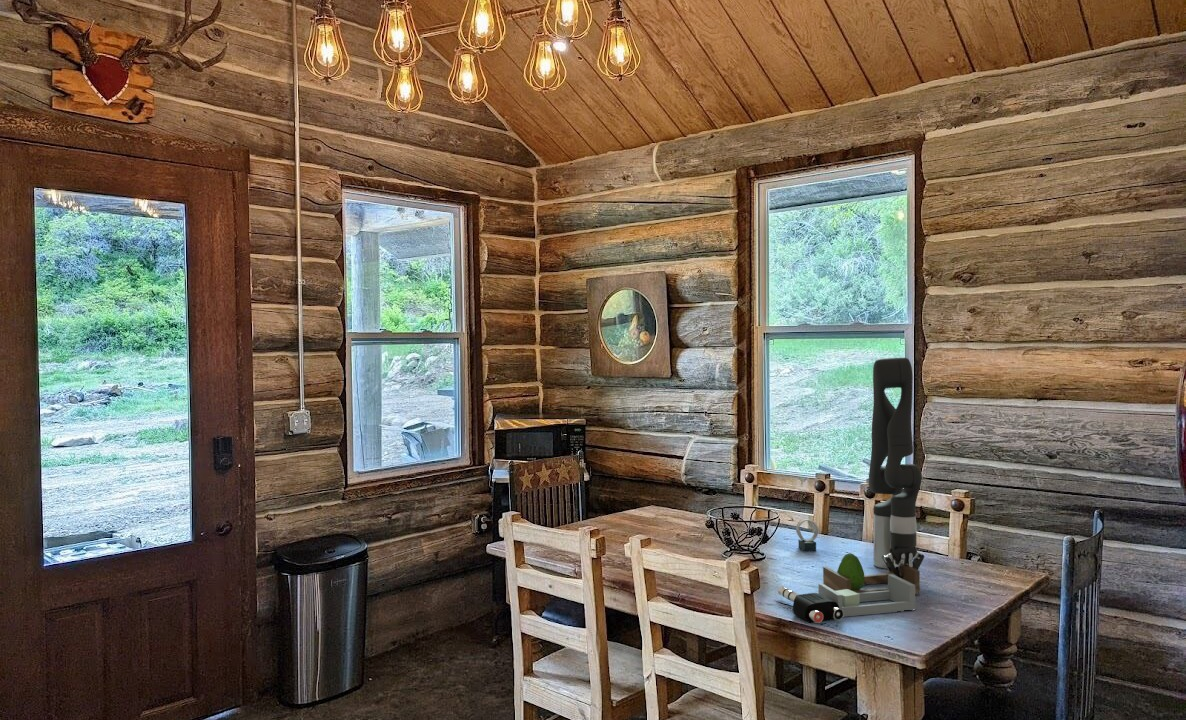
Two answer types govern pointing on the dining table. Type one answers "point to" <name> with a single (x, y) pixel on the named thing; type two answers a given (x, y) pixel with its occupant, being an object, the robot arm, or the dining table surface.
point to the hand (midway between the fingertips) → (903, 586)
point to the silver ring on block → (807, 544)
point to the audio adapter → (812, 606)
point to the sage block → (849, 597)
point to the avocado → (852, 571)
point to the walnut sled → (869, 579)
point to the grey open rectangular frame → (877, 598)
